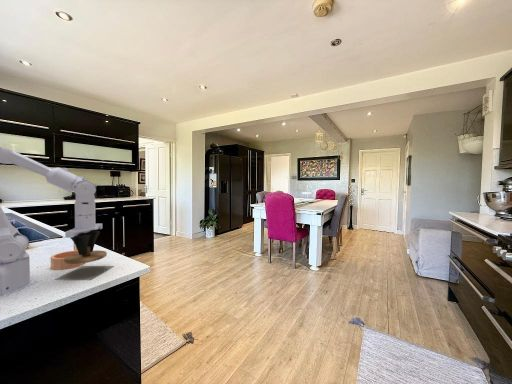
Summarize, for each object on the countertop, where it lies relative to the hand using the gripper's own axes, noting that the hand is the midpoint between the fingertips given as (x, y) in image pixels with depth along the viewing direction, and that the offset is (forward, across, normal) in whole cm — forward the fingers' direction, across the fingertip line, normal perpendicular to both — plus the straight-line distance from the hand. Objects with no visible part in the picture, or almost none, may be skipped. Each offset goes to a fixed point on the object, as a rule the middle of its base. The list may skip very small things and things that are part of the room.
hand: (85, 253), depth 79 cm
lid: (+2, 0, 0) cm, 2 cm away
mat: (+7, 0, 0) cm, 7 cm away
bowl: (+7, +7, +12) cm, 16 cm away
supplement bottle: (+8, +21, +18) cm, 29 cm away
